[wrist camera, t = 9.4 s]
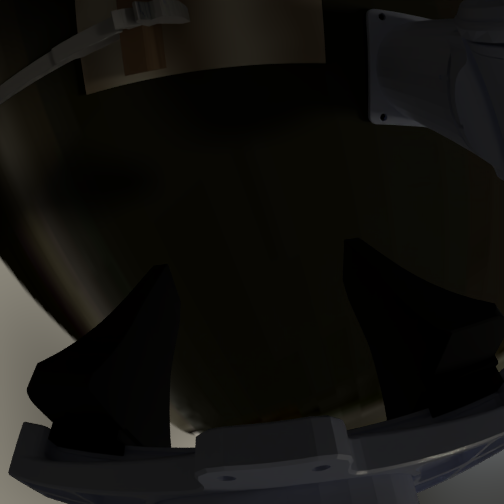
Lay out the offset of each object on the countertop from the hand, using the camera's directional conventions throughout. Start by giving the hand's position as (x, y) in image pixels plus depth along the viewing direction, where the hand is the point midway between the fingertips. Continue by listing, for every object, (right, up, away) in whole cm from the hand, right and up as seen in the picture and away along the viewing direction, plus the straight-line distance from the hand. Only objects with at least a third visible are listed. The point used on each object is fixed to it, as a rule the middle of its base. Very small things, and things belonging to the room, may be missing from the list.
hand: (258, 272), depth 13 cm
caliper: (-14, +13, +3) cm, 19 cm away
